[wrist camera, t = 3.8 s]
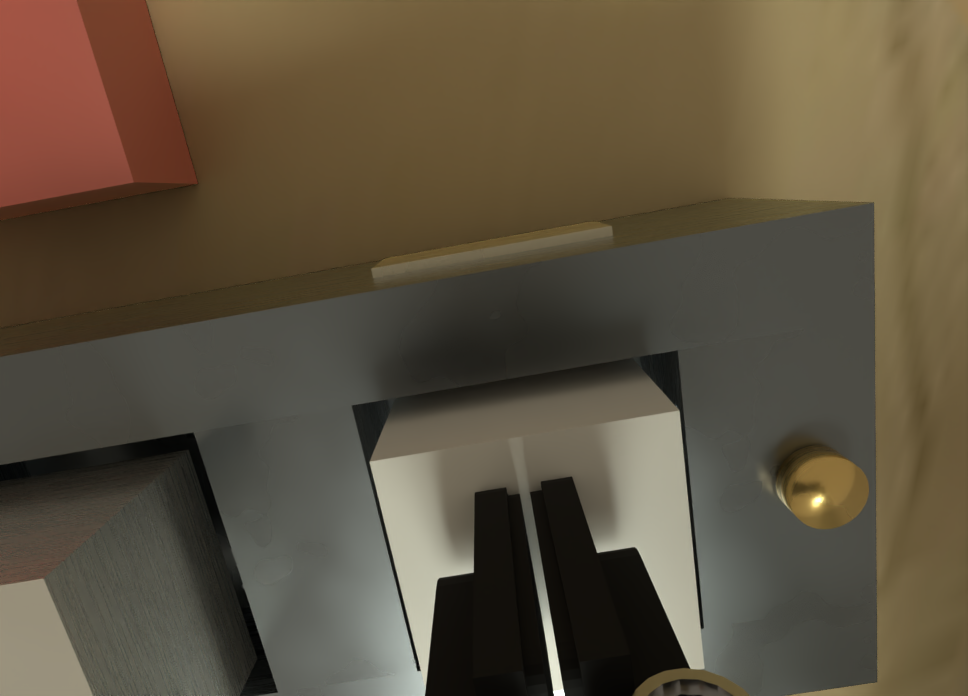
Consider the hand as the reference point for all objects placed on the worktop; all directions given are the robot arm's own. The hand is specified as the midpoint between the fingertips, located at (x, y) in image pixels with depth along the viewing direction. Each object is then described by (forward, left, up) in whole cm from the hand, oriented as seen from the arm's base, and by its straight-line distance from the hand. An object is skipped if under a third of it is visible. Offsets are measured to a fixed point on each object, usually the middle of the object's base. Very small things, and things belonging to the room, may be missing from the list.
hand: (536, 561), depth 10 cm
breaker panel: (0, +4, -8) cm, 9 cm away
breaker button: (0, 0, -4) cm, 4 cm away
